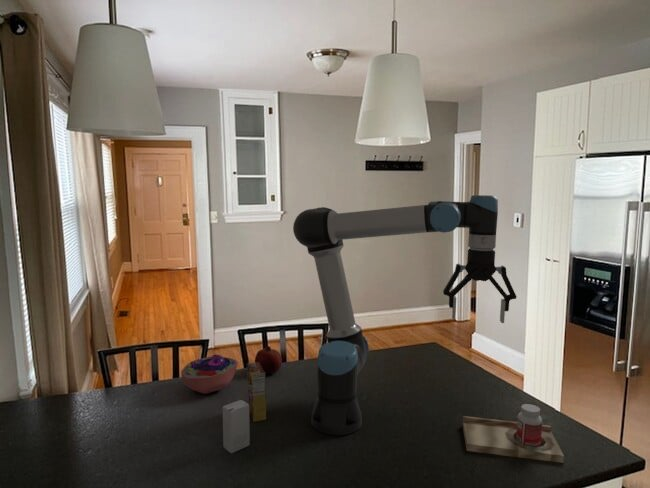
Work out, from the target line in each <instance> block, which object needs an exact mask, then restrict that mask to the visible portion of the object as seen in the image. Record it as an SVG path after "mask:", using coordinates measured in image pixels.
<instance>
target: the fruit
mask: <svg viewBox="0 0 650 488" xmlns="http://www.w3.org/2000/svg"><path fill="white" fill-rule="evenodd" d="M254 362H259V363H260V365H261V366H262V368H263V370H264V372H265V374H272V375H273V374H275V373H276V372H278V371H279V370H281V367H282V364H283V358H282V355H281V353H280V352H279V351H278V350H276V349H275V348H272V347H271V346H270V345H269V346H268V345H267V346H266V347H265V348H262V349H260V350H259V351H257V352H256V354H255V359H254Z"/></svg>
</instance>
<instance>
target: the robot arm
mask: <svg viewBox="0 0 650 488" xmlns="http://www.w3.org/2000/svg"><path fill="white" fill-rule="evenodd" d="M498 203H499V200H498V198H497V196H495V195H486V194H485V195H484V194H483V195H481V194H479V195H478V194H477V195H475V194H474V195H471V196H470V199H469V201H444V200H437V201H435V200H434V201H430V202H429V203H427V204H421V205H419V204H418V205H410V206H399V207H390V208H389V207H388V208H383V209H382V208H380V209H372V210H371V209H370V210H362V211H361V210H360V211H350V212H339V213H338V212H337V211H336V210H333V209H332V208H330V207H329V208H328V207H323V206H322V207H317V208H309V209H305V210H304V211H301V212H300V213H299V214H298V215H297V216H296V218H295V220H294V222H293V227H292V229H293V235H294V237H295V239H296V240H297V242H298V243H299V244H300V245H303V246H304V247H306V249H307V253H308V254H309V255H310V256H312V257H313V258H314V263H315V266H316V272H317V277H318V281H319V286H320V290H321V294H322V300H323V304H324V309H325V313H326V319H327V322H328V327H329V329H328V331H327V333H326V341H327V342H326V343H323V344H322V345H321V346H320V348H319V350H318V353H317V359H316V361H317V363H316V364H317V398H316V401H315V403H314V406H313V409H312V411H311V412H312V413H311V422H310V423H311V425H312V427H313V428H314V429H315V430H316V431H318V432H320V433H322V434H325V435H329V436H330V435H331V436H345V435H350V434H353V433H355V432H357V431H358V430H360V428H362V425H363V423H362V422H363V421H362V418H363V415H362V412H361V409H360V406H359V402H358V399H357V398H358V397H357V385H358V382H357V381H358V375H359V373H360V371H361V370H362V369H363V367H364V365H365V364H366V362H367V360H368V358H369V354H370V353H369V352H370V346H369V342H368V339H367V338H366V337H365V335H364V334H363V331H362V327H361V326H360V325H359V324H357V323H356V320H355V315H354V309H353V306H352V300H351V296H350V292H349V286H348V282H347V277H346V272H345V268H344V263H343V259H342V254H341V251H342V249H343V248H344V245H345V244H344V240H353V239H365V238H378V237H387V236H388V237H391V236H400V235H413V234H425V233H438V232H439V233H443V234H445V233H450V232H452V231H455V230H456V229H457V228H463V229H468V243H467V247H469V249H468V250H467V259H466V261H467V262H466V265H464V264H460V263H456V264H455V268H454V272H453V274H452V275H451V276H450V278H449V280H448V281H447V284H446V286H445V287H444V288H443V290H442V292H443V295H444V296H447V297H448V306H449V308H450V309H451V310H452V312H451V318H452V319H451V320H452V321H454V320H455V321H456V311H457V296H456V295H457V294H458V293H459V292H460V291H461V290H462V289H463V288H464V287H465V286H466V285H467V284H468V283H470V282H471V280H473V281H475V282H479V281H481V282H487V281H490V283H491V284H492V285H493V286H494V288H495V289H496V290H497V291H498V292H499V294H500V295H501V296H502V298H500V309H499V310H500V311H499V321H500V323H501V324H505V316H506V312H509V311H510V302H511V301H512V300H517V298H518V297H517V295H516V292H515V291H514V289H513V286H512V284H511V281H510V279H509V277H508V275H507V268H506V266H505V265H500V266H495V264H496V263H495V260H496V251H495V248H496V246H497V245H496V242H497V230H498V229H497V227H498V216H499V215H498V213H499V211H498V209H499V207H498V205H499V204H498ZM464 270H465V272H466V273H467V274H466V275H465V276H464V277H463V279H461V280H460V282H458V283H457V284H456V285H455V287H453V285H454V284H455V282H456V280H457V279H458V278H459V276H460V273H463V271H464ZM496 272H497V273H498V274H500V276H501V277H502V281H503V282H504V285H505V287H506V289H507V290H508V293H509V294H507V293H506V291H505V290H504V289H503V287H501V286H500V284H499V283H498V282H497V281H496V279H495V278H494V277H493V275H494V274H495V273H496ZM452 287H453V289H452Z"/></svg>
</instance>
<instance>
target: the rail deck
mask: <svg viewBox="0 0 650 488" xmlns="http://www.w3.org/2000/svg"><path fill="white" fill-rule="evenodd" d="M462 430H463V437H464V442H465V447H466V451H467V452H473V453H481V454H490V455H491V454H492V455H496V456H497V455H498V456H504V457H505V456H506V457H513V458H514V457H516V458H522V459H529V460H530V459H531V460H537V461H546V462H553V463H561V464H563V463H564V461H565V460H564V459H565V455H564V453H563V452H562V450H561V447H560V446H559V443H558V442H557V440H556V438H555V436H554V434H553V432H552V426H551V425H547V424H542V434H541V447H533V446H526V445H523V444H521V443H519V442H518V441H516V437H517V421H513V420H512V421H511V420H502V419H494V418H484V417H477V416H476V417H475V416H466V415H463V416H462Z"/></svg>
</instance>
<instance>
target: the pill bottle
mask: <svg viewBox="0 0 650 488" xmlns="http://www.w3.org/2000/svg"><path fill="white" fill-rule="evenodd" d="M520 407H521V408H520V412H519V413H518V414H517V421H516V422H517V437H516V439H515V440H516V441H518V442H519V443H521V444H523V445H526V446H533V447H541V446H542V444H541V434H542V425H543V418H542V416H541V415H540V414H541V408H540V407H539V406H537V405H534V404H531V403H530V404H529V403H524V404H521V406H520Z"/></svg>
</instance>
